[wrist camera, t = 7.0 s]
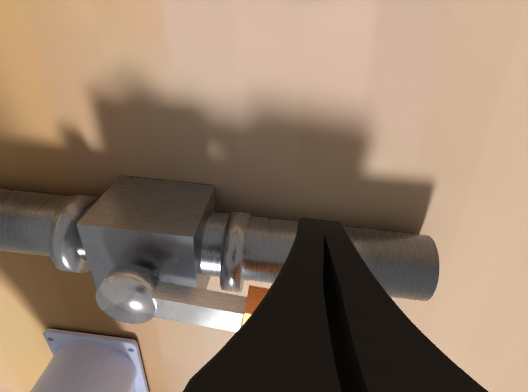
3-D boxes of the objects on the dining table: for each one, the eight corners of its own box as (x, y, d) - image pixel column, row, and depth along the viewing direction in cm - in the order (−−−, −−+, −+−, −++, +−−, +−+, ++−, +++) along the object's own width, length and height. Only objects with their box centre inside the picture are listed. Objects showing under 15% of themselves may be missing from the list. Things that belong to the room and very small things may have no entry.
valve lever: (115, 289, 18) (96, 321, 17) (110, 250, 17) (89, 281, 15) (355, 332, 18) (360, 369, 17) (372, 298, 17) (380, 334, 15)
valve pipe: (402, 278, 22) (422, 342, 18) (-39, 227, 24) (-105, 277, 20) (430, 208, 19) (462, 267, 15) (-79, 154, 21) (-166, 196, 17)
